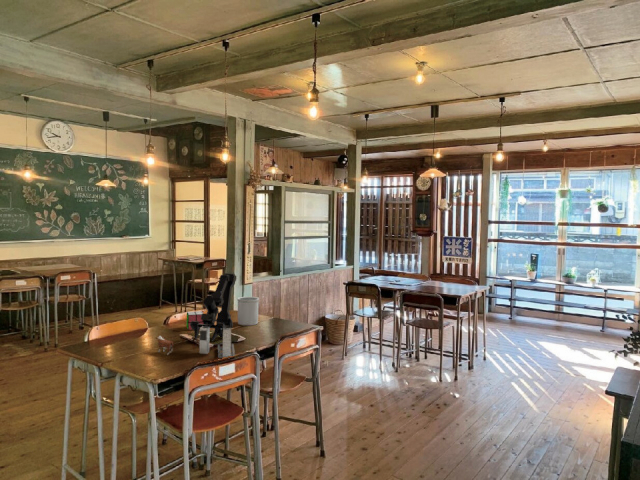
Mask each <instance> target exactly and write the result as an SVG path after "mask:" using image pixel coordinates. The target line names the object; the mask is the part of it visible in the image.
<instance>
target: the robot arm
mask: <svg viewBox="0 0 640 480" xmlns="http://www.w3.org/2000/svg"><path fill="white" fill-rule="evenodd" d="M236 281H237V275H236V274H235V273H233V272H231V273H228V272H227V273H226V272H224V273H223V274H220V275H219V281H218V284H217V286H216V288H215V291H214V292H212V293H211V295H208V296H207V297H205V298H204V299H203V301H202V303H203V305H204V307H205V310H206V313H203V314H202V316H201V320H202V322H203V324H199V322H198V321H192V322H191V323H190V326H191V328H192V330H191V331H193V332H194V339H195V341H197V339H198V337H199V335H200V327H202V326H210V329H214V331H213V333H212V337H211V342H213V341H214V340H215V339H216V338H218V337H219V336H220V337H223V328H231V329H232V328H233V326H234V323H233V321H232V320H233V319H232V315H231V313H230V307H231V306H230V305H231V297H232V289H233V287H234V286H235V284H236ZM218 307H221V310H220V309H219V308H218ZM215 323H216V324H215Z"/></svg>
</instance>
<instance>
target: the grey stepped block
mask: <svg viewBox="0 0 640 480" xmlns="http://www.w3.org/2000/svg"><path fill="white" fill-rule="evenodd" d="M234 355H235V356H236V351H235V344H234V343H232V328H223V338H222V346H221V344H219V343H218V344H217V359H218V358H223V357H228V356H234Z"/></svg>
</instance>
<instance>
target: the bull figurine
mask: <svg viewBox="0 0 640 480" xmlns="http://www.w3.org/2000/svg"><path fill="white" fill-rule="evenodd" d="M155 339H156V340H157V345H158V350H157V353H160V352H161V349H163V350H162V352H164V353H165V352H166V350H167V353H166V355H167V356H170V354H171V353H172V352H173V350H174V342H173V341H172V340H167V339H165V337H164V336H163V337H162V336H161V335H159V336H158V337H155Z"/></svg>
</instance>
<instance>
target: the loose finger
mask: <svg viewBox="0 0 640 480" xmlns="http://www.w3.org/2000/svg"><path fill="white" fill-rule="evenodd" d="M199 331H200V332H199V354H201V355H207V354H208V353H210V338H211V337H210V335H211V333H210V331H211V328H210V326H202V327H200V330H199Z"/></svg>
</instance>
